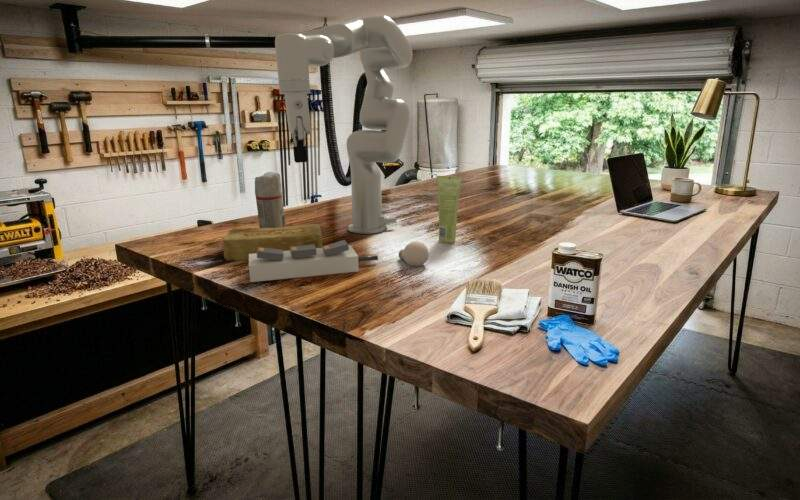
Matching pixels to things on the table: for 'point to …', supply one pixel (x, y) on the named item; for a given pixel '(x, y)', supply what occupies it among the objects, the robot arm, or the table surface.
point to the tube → (448, 206)
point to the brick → (269, 240)
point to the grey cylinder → (269, 200)
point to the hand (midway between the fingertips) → (301, 161)
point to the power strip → (304, 265)
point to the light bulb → (414, 254)
